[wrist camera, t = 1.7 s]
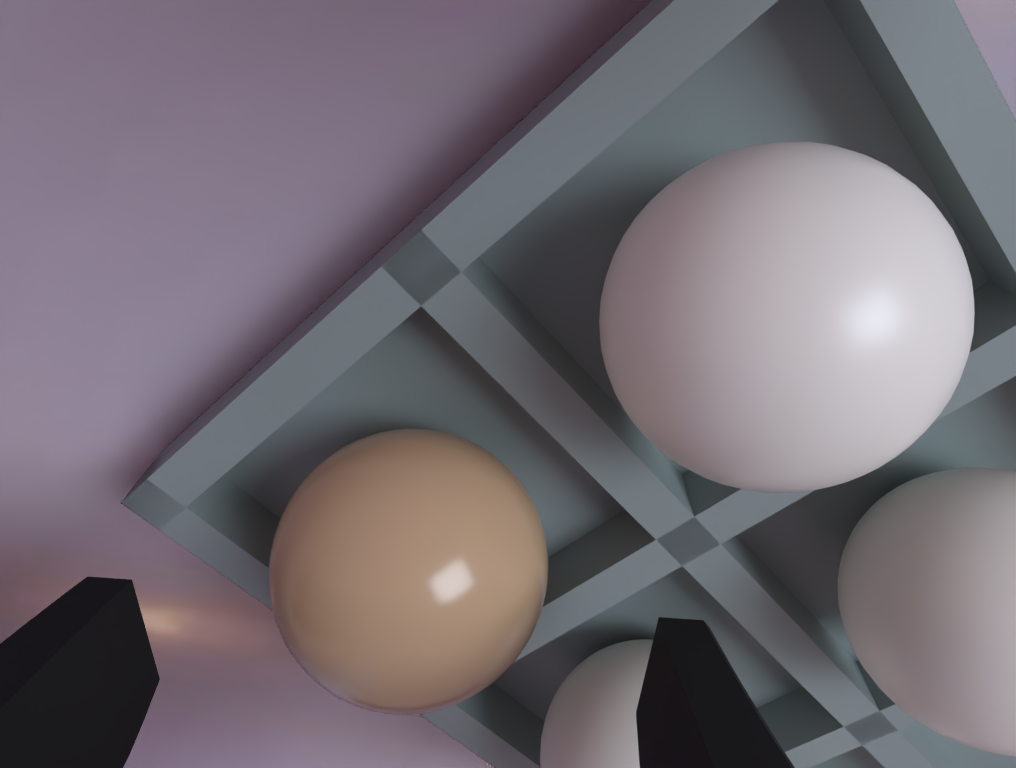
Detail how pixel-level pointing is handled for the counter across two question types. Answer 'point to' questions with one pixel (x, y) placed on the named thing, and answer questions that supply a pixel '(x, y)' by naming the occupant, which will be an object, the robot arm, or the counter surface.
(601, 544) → the egg carton
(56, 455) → the counter surface
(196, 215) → the counter surface
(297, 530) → the brown egg
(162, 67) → the counter surface
